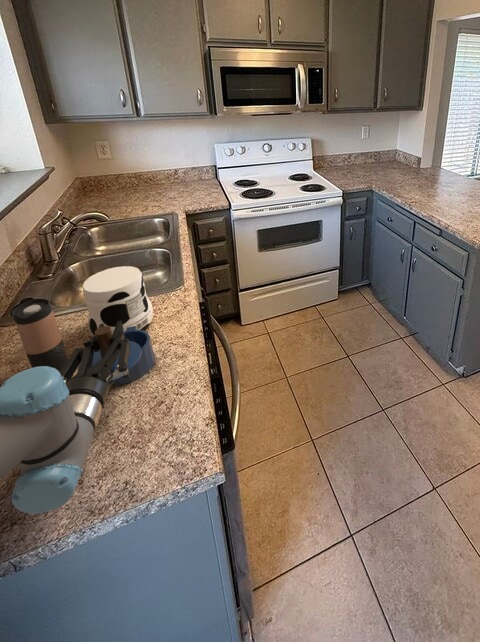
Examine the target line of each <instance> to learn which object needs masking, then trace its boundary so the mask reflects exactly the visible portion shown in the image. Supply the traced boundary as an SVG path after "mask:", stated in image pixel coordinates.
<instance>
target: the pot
mask: <svg viewBox="0 0 480 642" xmlns="http://www.w3.org/2000/svg"><path fill="white" fill-rule="evenodd" d="M124 335H125V338H128V340H129V341H133V342H135V343H137V344H138V345H139V346H140V347H141V351H142V354H141V357H140V359H139V361H138V363H137V364H136V365H135V366H134V367H133V368H132V369H131V370H129V371H128V372H129V376H128V377H127V378H122V376H121V377H119V378H117V379H115V380H114V382H113V384H112V385H117V386H122V385H126V384H131V383H134V382H136V381H137V380H140V379H142V378H143V377H144V376H145V375H147V374H148V373H150V371H152V370H153V369H154V367H155V363H156V358H155V354H154V348H153V344H152V338H151V336H150V334H149V332H147V331H146V330H137V327H136V326H133V327H128V328H127V329H126V331H125V332H124ZM125 338H124V339H125Z"/></svg>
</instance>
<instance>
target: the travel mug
mask: <svg viewBox="0 0 480 642" xmlns="http://www.w3.org/2000/svg"><path fill="white" fill-rule="evenodd" d="M52 307H53V306H52V304H51V302H50V300H49V299H47V298H37V299H32V300H29V301H25V302H24V303H22V304H20V305H18V306H16V307H15V308H13V310H12V312H11V315H12V318H13V321H14V323H15V326H16V330H17V332H18V336H19V337H20V341H21V343H22V346H23V349H24V352H25V354H26V356H27V359H28V362H29V364H30V366H31V368H34V367H40V366H48V367H52V368H55V369H57V370H58V371H59V372H60V371H61V370H62V368H63V367H64V365H65V363H66V362H67V360H68V359H69V358H68V355H67V352H66V349H65V344H64V340H63V338H62V334H61V331H60V329H59V325H58V322H57V320H56V316H55V314H54V310H53V308H52Z"/></svg>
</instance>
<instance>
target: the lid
mask: <svg viewBox="0 0 480 642" xmlns="http://www.w3.org/2000/svg"><path fill="white" fill-rule="evenodd" d="M95 336H96V340H97V343H98V347H99V351H98V352H94V351H93V352H94V355H93V361H92V366H91V367H95V366H97V364H98V362H99V361H100V360H102V359H103V357H104V356H105V354H106V352H107V351H108V349H109V347H110V346H111V344H112V341H111V337H112V332H111V328H110V327H109V326H104V327H100V328H99V329H97V330H96V331H95ZM129 344H130V354H129V360H128V366H127V368H128V371H129V370H131V369H132V368H133V367H134V366H135V365H136V364H137V363H138V361H139V359H140V357H141V354H142V351H141V347H140V346H139V345H138V344H137V343H135V342H133V341H129ZM119 354H120V353H119ZM118 358H119V355H118V356H117V358H116V360H115V362H114V364H113V365H112V367H111V369H110V372H111V373H114V372H115V369H116V366H117V365H118ZM79 365H81V363H80V364H79ZM78 368H79V366H78ZM78 368H77V369H78Z"/></svg>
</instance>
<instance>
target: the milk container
mask: <svg viewBox="0 0 480 642" xmlns="http://www.w3.org/2000/svg"><path fill="white" fill-rule="evenodd" d="M82 294H83V296H84V301H85V304H86V305H85V306H86V307H87V311H88V320H87V321H88V322H87V324H88V329H89V331H90V333H91V335H92V336H95V331H96V330H97V329H98V328H99V325H100V324H104V326H109V327H110V328H111V332H112V334H113V332H114V329H115V327H116V324H117V322H118V321H122V325H123V329H124V330H123V332H125V331H126V329H127V328H128V327H133V326H136V327H137V330H143V331H146V329H147V328H148V327H149V326H150V325H151V323H152V321H153V319H154V309H153V304H152V302H151V300H150V298H149V297H148V295H147V292H146V285H145V282H144V276H143V273H142V271H141V270H140V269H139V268H138V267H136V266H131V265H130V266H129V265H123V266H115V267H111V268H106V269H104V270H101V271H98V272H96V273H94V274H93V275H91V276H89V277H88V278H87V279H86V280H85V281H84V282H83V285H82Z"/></svg>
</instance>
